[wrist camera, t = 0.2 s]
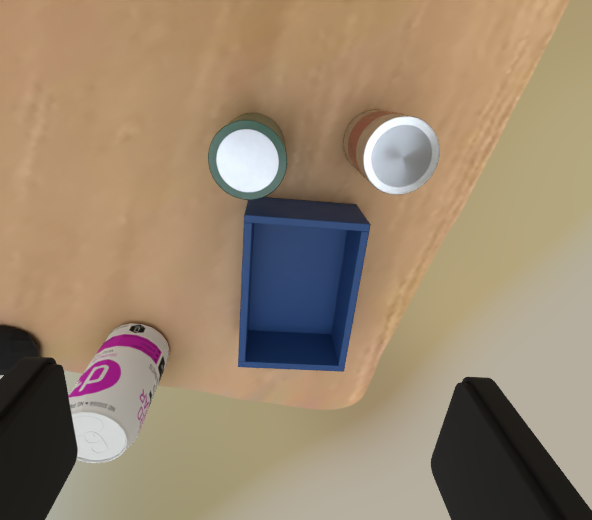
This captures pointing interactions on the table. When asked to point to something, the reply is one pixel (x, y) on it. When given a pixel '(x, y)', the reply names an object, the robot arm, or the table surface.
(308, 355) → the blue storage box
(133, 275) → the table surface
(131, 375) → the supplement can
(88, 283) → the table surface
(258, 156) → the green can
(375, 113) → the silver can
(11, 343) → the gaming mouse
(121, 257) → the table surface
